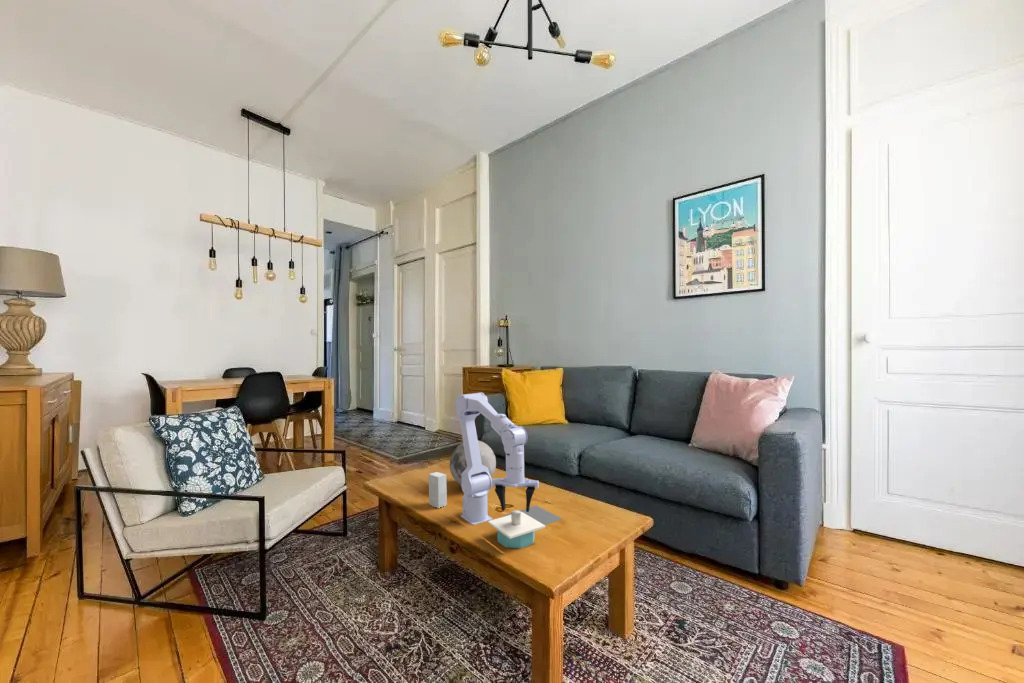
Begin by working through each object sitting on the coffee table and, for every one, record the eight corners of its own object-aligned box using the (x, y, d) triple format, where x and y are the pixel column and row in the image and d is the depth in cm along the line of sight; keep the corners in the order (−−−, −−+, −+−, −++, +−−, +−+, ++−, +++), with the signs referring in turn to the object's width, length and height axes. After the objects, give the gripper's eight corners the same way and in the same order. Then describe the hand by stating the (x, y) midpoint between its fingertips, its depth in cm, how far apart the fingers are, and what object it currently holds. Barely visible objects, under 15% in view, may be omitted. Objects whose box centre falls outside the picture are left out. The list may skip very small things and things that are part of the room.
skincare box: (447, 505, 158) (446, 474, 158) (438, 509, 155) (437, 477, 155) (437, 501, 162) (437, 471, 162) (428, 505, 159) (428, 474, 159)
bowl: (492, 538, 130) (491, 524, 130) (520, 529, 137) (520, 515, 137) (511, 552, 121) (511, 537, 121) (541, 542, 127) (540, 527, 127)
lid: (488, 523, 131) (487, 510, 131) (521, 513, 138) (521, 501, 138) (510, 538, 120) (509, 524, 120) (545, 527, 127) (545, 514, 127)
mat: (503, 516, 147) (503, 515, 147) (536, 506, 155) (536, 505, 155) (528, 531, 135) (528, 530, 135) (562, 520, 143) (562, 518, 143)
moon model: (486, 476, 192) (485, 433, 192) (503, 490, 173) (503, 442, 174) (444, 483, 183) (443, 438, 183) (458, 498, 165) (457, 448, 165)
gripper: (489, 469, 126) (490, 513, 126) (536, 471, 124) (537, 516, 124) (494, 462, 133) (495, 504, 133) (539, 464, 131) (539, 507, 131)
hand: (515, 509), depth 129 cm, fingers open, 7 cm apart
